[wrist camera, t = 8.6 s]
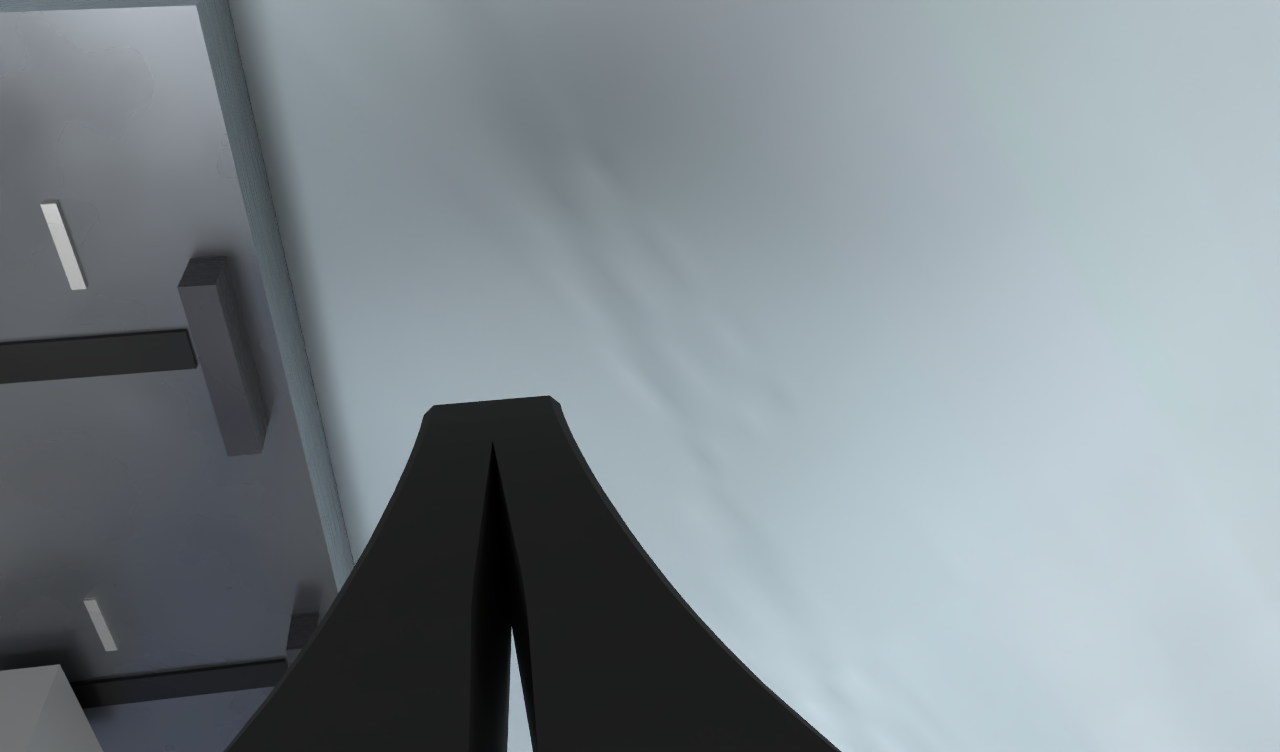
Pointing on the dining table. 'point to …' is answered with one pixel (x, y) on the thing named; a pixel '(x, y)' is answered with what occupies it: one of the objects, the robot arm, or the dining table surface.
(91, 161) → the console
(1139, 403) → the dining table surface
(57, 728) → the fader
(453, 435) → the robot arm
